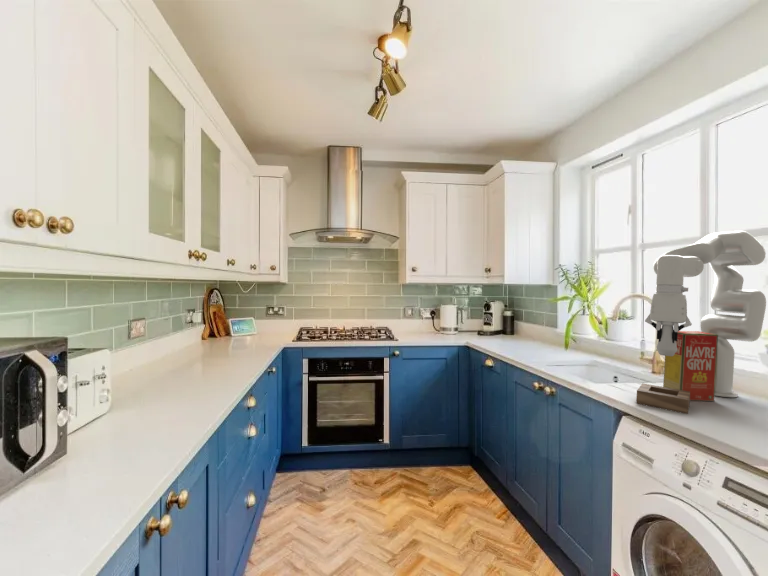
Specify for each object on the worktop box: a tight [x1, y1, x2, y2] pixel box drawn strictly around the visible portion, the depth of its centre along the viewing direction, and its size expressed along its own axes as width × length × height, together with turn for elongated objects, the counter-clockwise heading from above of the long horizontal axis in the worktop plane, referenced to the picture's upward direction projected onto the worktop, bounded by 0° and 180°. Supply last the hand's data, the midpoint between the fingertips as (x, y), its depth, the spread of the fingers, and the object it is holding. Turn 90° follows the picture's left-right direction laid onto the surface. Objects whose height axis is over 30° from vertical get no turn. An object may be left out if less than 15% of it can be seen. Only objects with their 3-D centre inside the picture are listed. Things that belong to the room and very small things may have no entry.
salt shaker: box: [656, 322, 677, 357], centre depth 131 cm, size 6×6×13 cm
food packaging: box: [662, 330, 718, 402], centre depth 140 cm, size 13×9×25 cm
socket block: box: [635, 383, 691, 415], centre depth 131 cm, size 14×14×5 cm
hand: (666, 341), depth 130 cm, fingers closed on salt shaker, 3 cm apart
